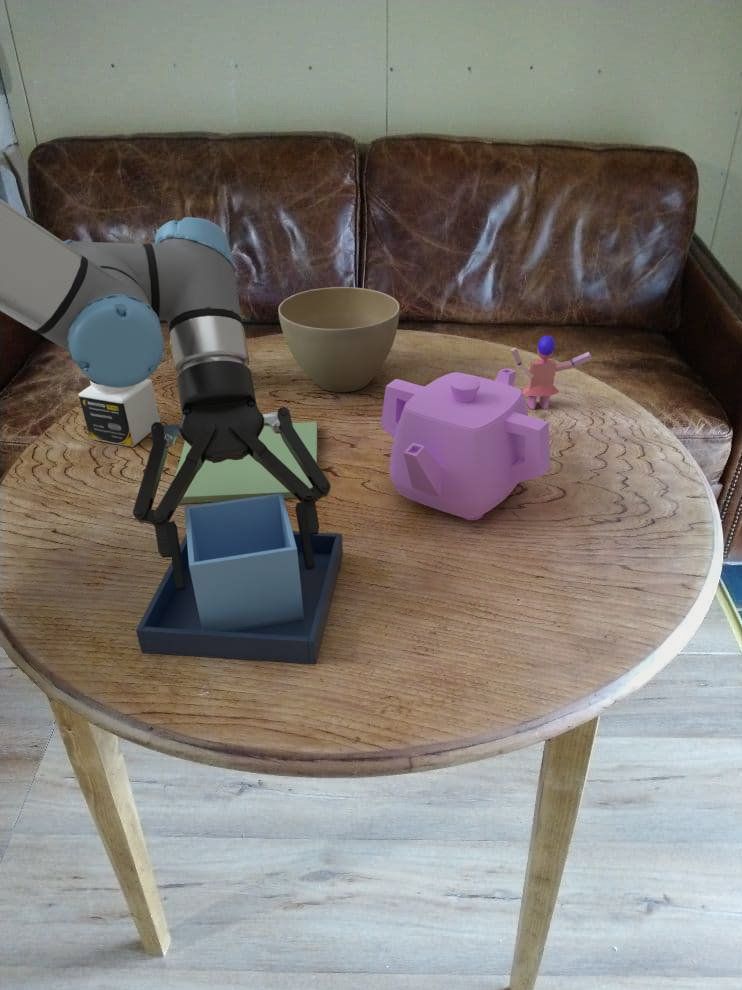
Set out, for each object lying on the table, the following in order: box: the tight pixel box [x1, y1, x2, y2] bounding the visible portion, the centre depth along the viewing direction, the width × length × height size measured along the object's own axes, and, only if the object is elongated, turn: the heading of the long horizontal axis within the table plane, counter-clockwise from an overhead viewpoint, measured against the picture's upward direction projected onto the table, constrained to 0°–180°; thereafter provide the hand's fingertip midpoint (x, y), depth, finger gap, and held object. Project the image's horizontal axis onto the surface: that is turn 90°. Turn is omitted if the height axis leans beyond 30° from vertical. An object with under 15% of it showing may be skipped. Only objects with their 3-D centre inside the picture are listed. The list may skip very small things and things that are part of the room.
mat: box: [175, 421, 318, 505], centre depth 106 cm, size 18×18×1 cm
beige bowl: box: [277, 286, 401, 393], centre depth 122 cm, size 18×18×12 cm
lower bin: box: [135, 530, 344, 665], centre depth 83 cm, size 17×17×3 cm
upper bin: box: [184, 493, 304, 632], centre depth 81 cm, size 10×10×9 cm
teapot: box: [380, 367, 551, 521], centre depth 96 cm, size 19×18×15 cm
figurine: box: [509, 335, 592, 410], centre depth 116 cm, size 3×12×11 cm, turn 100°
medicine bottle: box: [78, 378, 161, 448], centre depth 109 cm, size 7×7×12 cm
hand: (246, 578), depth 79 cm, fingers open, 12 cm apart
